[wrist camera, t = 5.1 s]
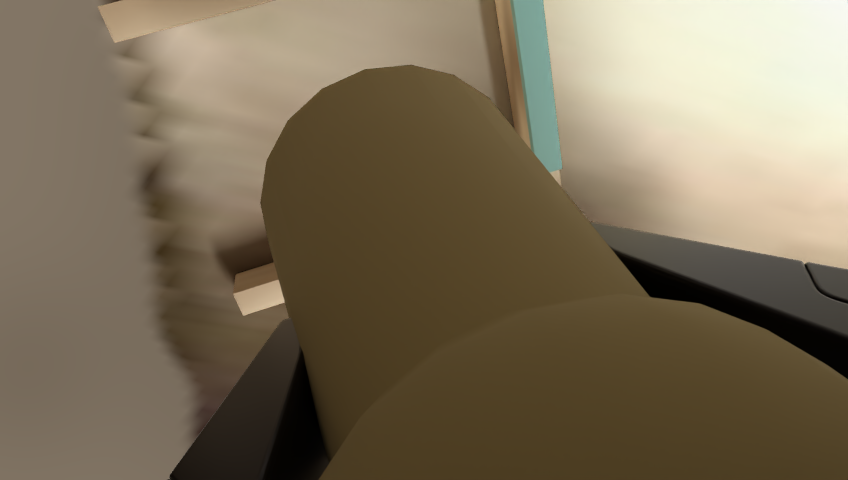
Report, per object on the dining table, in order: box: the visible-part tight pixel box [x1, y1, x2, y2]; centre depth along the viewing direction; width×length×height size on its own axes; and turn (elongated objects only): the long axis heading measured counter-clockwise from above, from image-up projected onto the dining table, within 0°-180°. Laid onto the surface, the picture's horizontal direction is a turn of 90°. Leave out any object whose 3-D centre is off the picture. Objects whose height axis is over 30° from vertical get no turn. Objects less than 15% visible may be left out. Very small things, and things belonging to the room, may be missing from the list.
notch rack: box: [98, 0, 562, 316], centre depth 20 cm, size 31×13×2 cm, turn 13°
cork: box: [260, 65, 848, 480], centre depth 8 cm, size 6×6×11 cm
